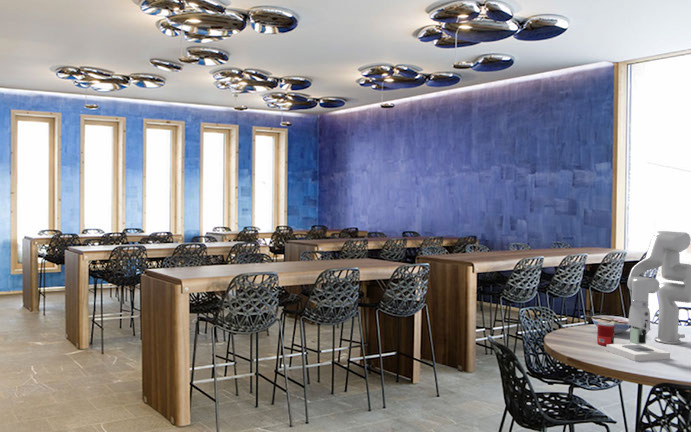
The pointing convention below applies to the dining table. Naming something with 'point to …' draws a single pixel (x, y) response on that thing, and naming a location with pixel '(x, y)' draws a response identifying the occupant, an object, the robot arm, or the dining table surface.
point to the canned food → (605, 333)
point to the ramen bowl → (618, 322)
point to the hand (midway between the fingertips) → (637, 340)
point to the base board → (637, 351)
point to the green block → (635, 335)
